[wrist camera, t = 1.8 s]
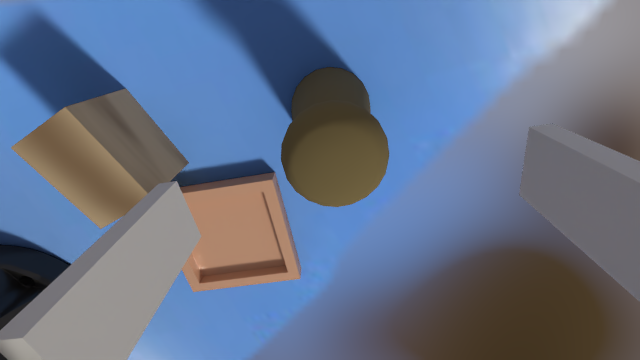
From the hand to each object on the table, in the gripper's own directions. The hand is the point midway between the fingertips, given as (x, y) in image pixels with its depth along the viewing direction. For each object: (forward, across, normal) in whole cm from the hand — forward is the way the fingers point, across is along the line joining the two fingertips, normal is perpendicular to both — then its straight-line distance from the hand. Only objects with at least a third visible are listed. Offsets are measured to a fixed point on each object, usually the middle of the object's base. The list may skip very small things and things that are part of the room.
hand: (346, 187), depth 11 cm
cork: (+13, -1, 0) cm, 13 cm away
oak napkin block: (+12, -17, 0) cm, 21 cm away
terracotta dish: (+12, -12, -10) cm, 20 cm away
